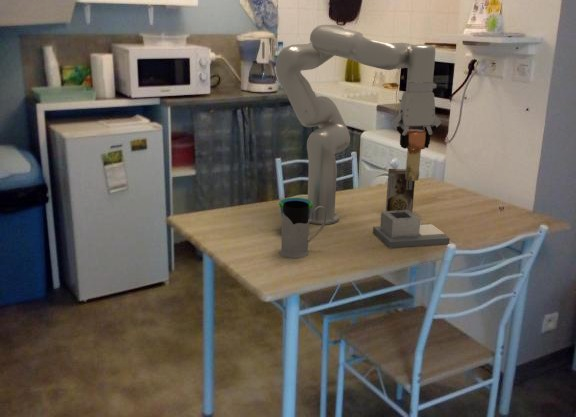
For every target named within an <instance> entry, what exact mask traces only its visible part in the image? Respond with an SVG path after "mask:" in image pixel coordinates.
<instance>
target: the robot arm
mask: <svg viewBox="0 0 576 417" xmlns="http://www.w3.org/2000/svg"><path fill="white" fill-rule="evenodd" d="M309 35H310V36H309V42H308V43H298V44H291V45H288V46H286V47H284V48H283V49H281V50H280V52H279V53H278V55H277V57H276V60H275V74H276V77H277V80H278V81H279V84H280V86H281V87H282V89H283V91H284V92H285V94H286V96H287V99H288V101H289V103H290V105H291V107H292V109H293V111H294V113H295V115H296V117H297V119H298V121H299V123H300V124H301V125H302V126H303V127H305V128H315V127H318V129H315V130H314V131H312V132H311V133H310V135H309V136H308V138H307V140H306V141H307V142H306V151H307V157H308V178H307V179H308V180H307V181H308V182H307V199H308V200H310V201H311V202H312V204H313V207H312V208H311V210H310V217H309V220H311V219H312V214H313V211H314V209H315V208H316V207H318V206H322V207H324V208H325V209H326V211H327V217H326V222H325V224H324V225H331V224H335V223H337V222H338V221H339V220H340V216H339V215H338V213H336V212H335V211H336V192H337V191H336V190H337V174H338V172H337V171H338V168H337V167H338V166H337V161H336V155H335V154H338V153H342V152H343V151H345V150H346V149H347V148H348V147H349V145H350V142H351V135H350V131H349V128H348V127H347V125H346V123H345V121H344V119H343V117H342V115H341V113H340V110H339V109H338V106H337V105H336V103H335V102H334V101H333V100H332V99H331V98H330V97H327V96H323V95H322V96H317V95H316V94H315V91H314V90H313V88H312V86H311V84H310V83H309V81H308V79H307V78H306V77H305V76H304V75H303V74H302V71H309V70H314V69H317V68H319V67H320V66H322V65H323V64H324V63H326V62H328V60H330V59H332V58H333V57H339V58H343V59H348V60H352V61H354V62H356V63H359V64H361V65H365V66H368V67H372V68H376V69H381V70H384V71H386V70H387V71H392V70H399V69H405V68H406V69H407V75H406V76H407V77H406V78H407V79H406V88H405V90H406V91H403V92H402V94H401V95H402V96H401V99H400V103H399V108H398V110H399V111H398V115H397V116H396V117H395V118H394V119H393V120H391V122H390V123H391V125H392V126H393V127H394V129H395V130H396V131H397V132H398V134H400V135H399V137H400V138H399V146H400V148H402V149H405V150H406V149H407V139H408V136H407V135H406V133H407V131H408V129H410V127H423V128H422V129H423V130H424V131H426V143H425V149H428V148H429V145H430V144H431V135H433V133H434V132H435V130H437V128H438V127H439V126H440V125H441V124H442V120H441V119H440V118H439V117H438V116H437V115H436V102H435V100H436V99H435V93H434V92H433V90H434V89H437V83H435V82H434V71H435V62H436V48H435V46H434V45H432V44H412V43H411V44H410V43H406V42H391V43H390V42H388V43H387V42H382V41H377V40H374V39H370V38H366V37H365V36H363V34H362V33H361V32H360V31H355V30H351V29H345V28H344V27H343V26H340V25H339V24H321V25H318V26H316V27H315V28H313V30H312V31H311V32H310V34H309ZM400 124H401V126H400ZM324 208H318V209H317V210H316V211H315V213H314V219H313V220H312V221H310V222H309V224H314V225H322V224H323V222H324V219H325V210H324Z"/></svg>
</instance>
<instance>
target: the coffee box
mask: <svg viewBox="0 0 576 417" xmlns="http://www.w3.org/2000/svg"><path fill="white" fill-rule="evenodd" d="M387 174H388V175H387V187H386V188H387V190H386V198H385V199H386V200H385V201H386V202H385V204H386V205H385V211H397V210H409V211H410V212H412V213H413V211H414V209H413V208H414V196H415V182H416V181H409V180H406V179H405V175H406V168H404V169H403V168H388V173H387Z"/></svg>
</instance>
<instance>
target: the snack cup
mask: <svg viewBox="0 0 576 417" xmlns="http://www.w3.org/2000/svg"><path fill="white" fill-rule="evenodd" d="M287 201H303V202H306V203H308V204H309V217H310V210H311V208H312V207H313V204H312V202H311V201H310V200H308V198H303V197H288V198H287V197H285V198H283V199H281V200H280V201H279V202H278V206H279V208H280V213H281V215H280V216H282V213H283V203H285V202H287ZM309 217H308V220H309Z"/></svg>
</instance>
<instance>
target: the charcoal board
mask: <svg viewBox="0 0 576 417" xmlns="http://www.w3.org/2000/svg"><path fill="white" fill-rule="evenodd" d="M428 224H431V223H420V225H428ZM372 227H373V228H372V233H373V234H374V235H375V236H376V237H377V238H378V239H379V240H380V241H382V243H384V245H386V246H387V248H389V249H396V248H398V249H399V248H411V247H423V246H424V245H425V246H426V245H427V246H439V244H442V245H449V244H450V238H451V237H449V236H448V235H446V234H445V235H443V236H427V237H421V236H420V235H419V237H414V238H398V239H391V238H390V237H389V236H388V235H386V234H385V233H384V232H383V231H382V230H381V229H380V226H372ZM448 243H449V244H448ZM425 246H424V247H425Z"/></svg>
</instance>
